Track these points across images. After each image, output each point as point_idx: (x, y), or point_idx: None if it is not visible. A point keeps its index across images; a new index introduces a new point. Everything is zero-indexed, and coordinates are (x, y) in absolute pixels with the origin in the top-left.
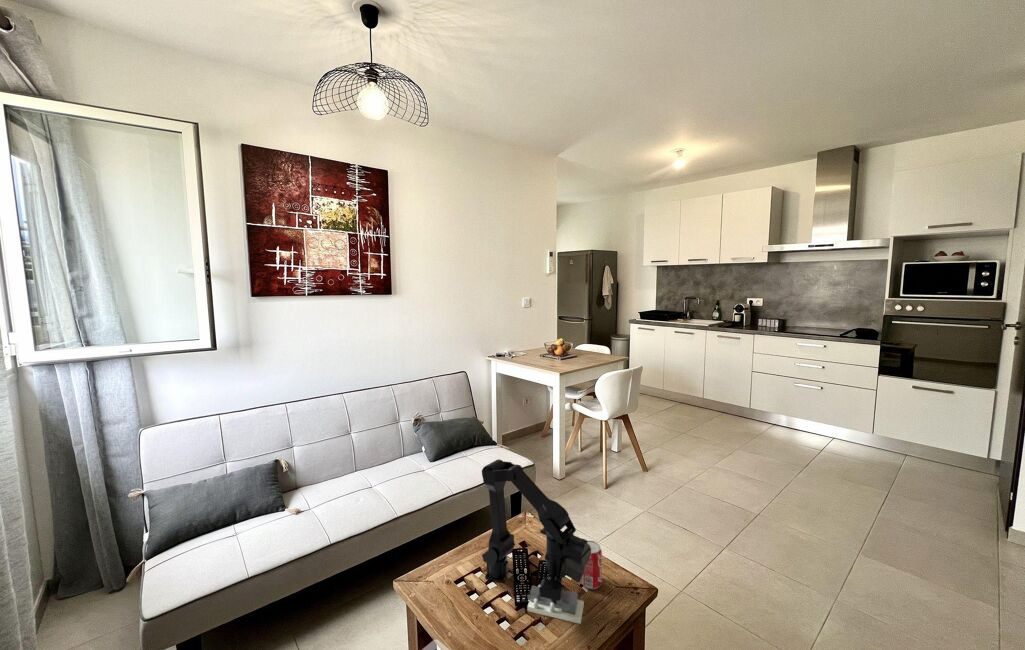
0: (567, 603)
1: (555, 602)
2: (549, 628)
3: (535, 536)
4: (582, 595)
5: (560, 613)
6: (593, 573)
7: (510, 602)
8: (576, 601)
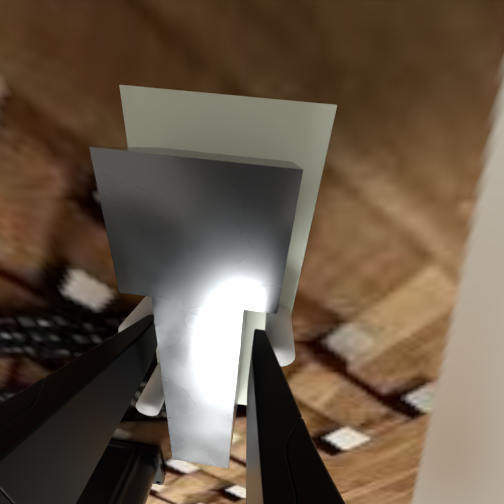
0: (285, 261)
1: (267, 340)
2: (366, 304)
3: None
4: (55, 112)
5: (293, 269)
6: None
7: (240, 428)
8: (204, 156)
